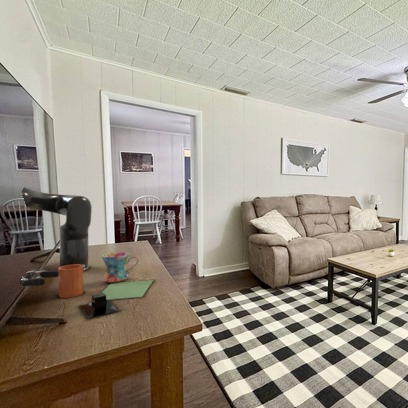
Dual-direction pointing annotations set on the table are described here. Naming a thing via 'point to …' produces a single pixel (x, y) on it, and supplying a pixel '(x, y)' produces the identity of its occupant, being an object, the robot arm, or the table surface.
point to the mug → (116, 267)
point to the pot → (70, 280)
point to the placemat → (126, 289)
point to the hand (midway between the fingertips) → (51, 277)
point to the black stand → (98, 306)
